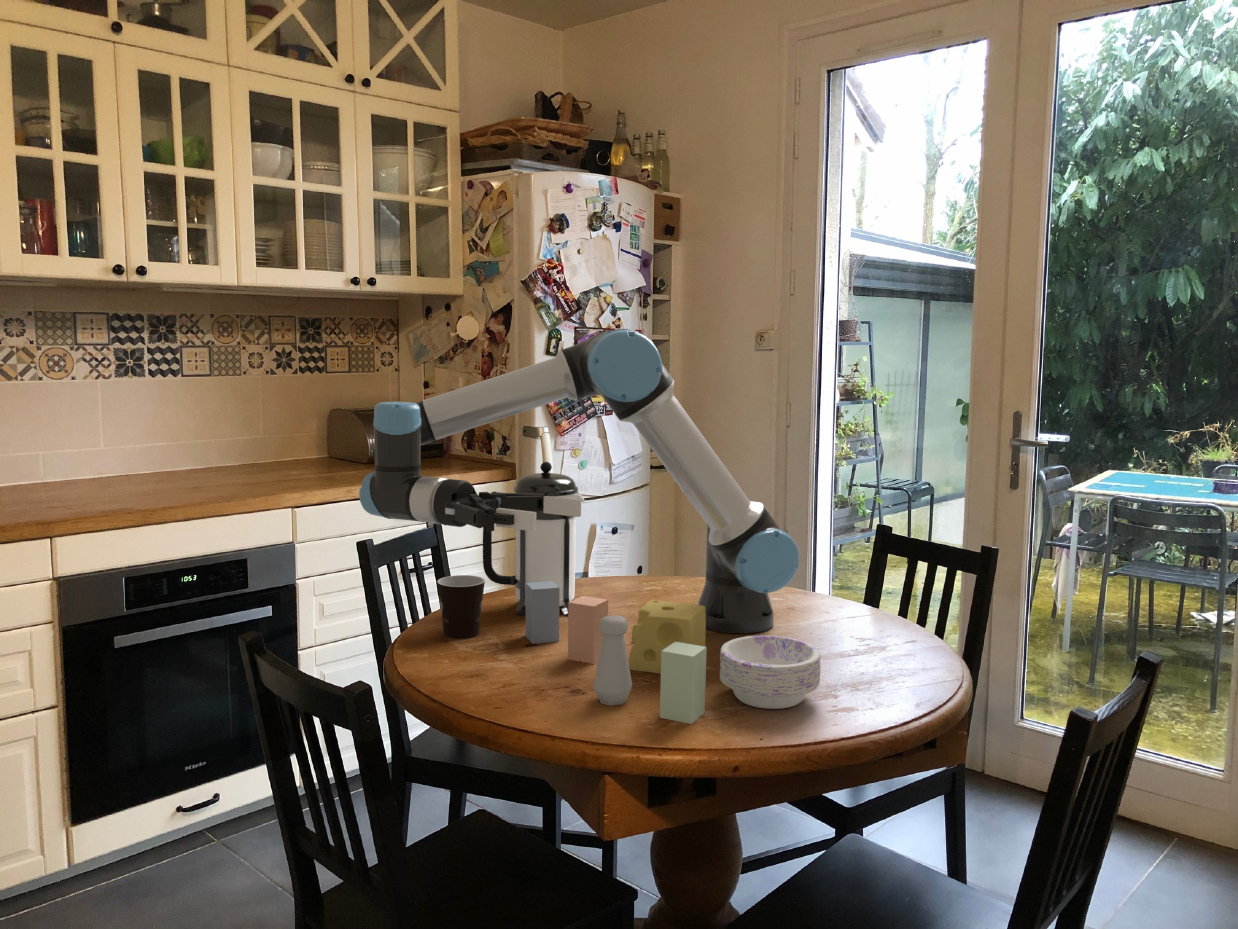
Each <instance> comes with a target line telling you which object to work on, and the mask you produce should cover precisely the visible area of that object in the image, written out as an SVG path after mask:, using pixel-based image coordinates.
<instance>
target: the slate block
mask: <svg viewBox="0 0 1238 929" xmlns="http://www.w3.org/2000/svg"><path fill="white" fill-rule="evenodd" d="M559 592H560V588H559V587H558V586H557V585H556V584H555V583H554V582H553V581H546V582H531V583H526V605H525V606H526V612H525V632H524V633H525V634H524V635H525V637H526V638H527V640H528V641H529V642H530V643H531V644H533V645H534V643H537V644H546V643H547V644H548V643H557V642H560V608H559Z"/></svg>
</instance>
